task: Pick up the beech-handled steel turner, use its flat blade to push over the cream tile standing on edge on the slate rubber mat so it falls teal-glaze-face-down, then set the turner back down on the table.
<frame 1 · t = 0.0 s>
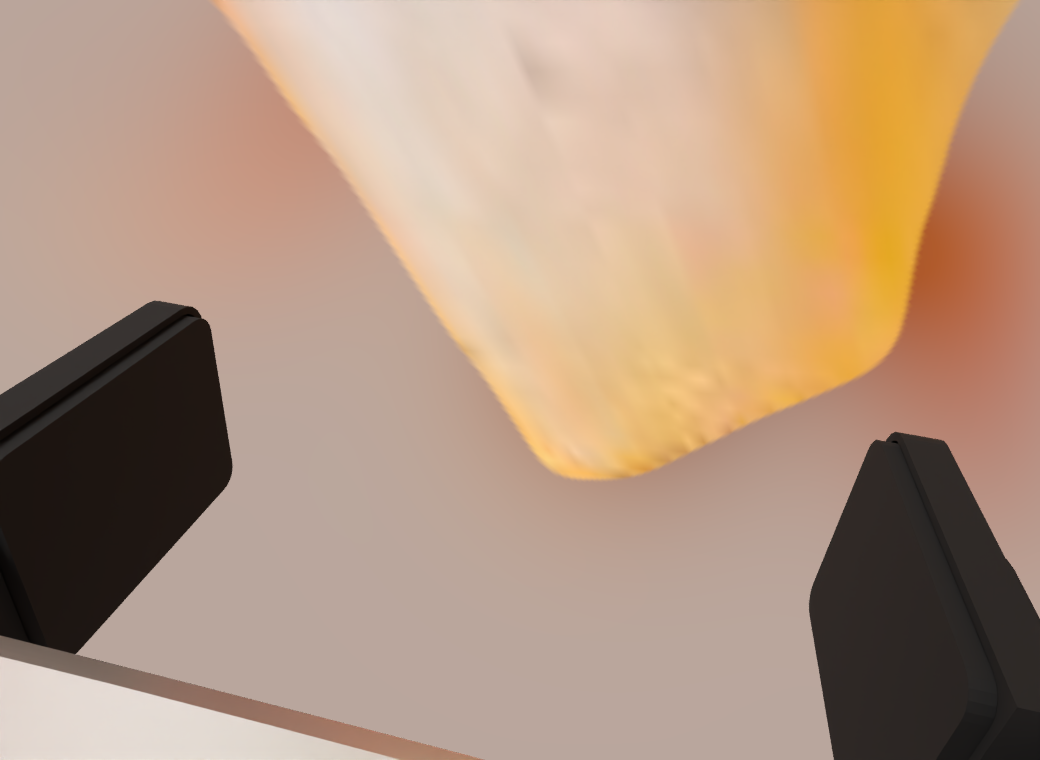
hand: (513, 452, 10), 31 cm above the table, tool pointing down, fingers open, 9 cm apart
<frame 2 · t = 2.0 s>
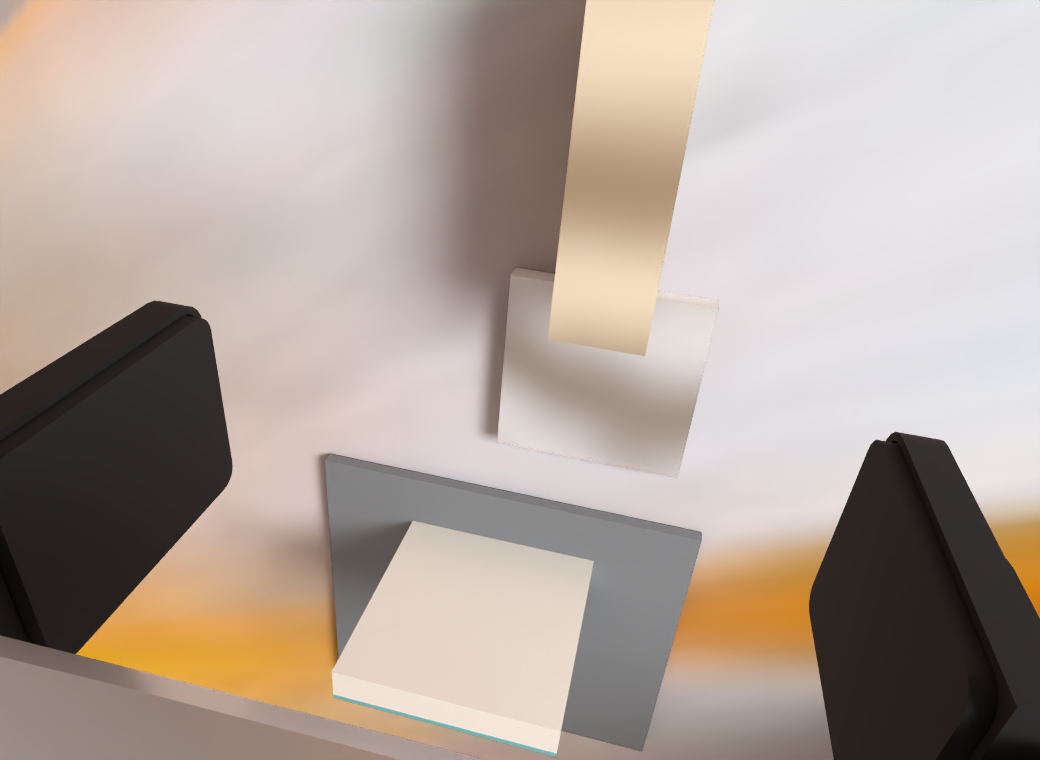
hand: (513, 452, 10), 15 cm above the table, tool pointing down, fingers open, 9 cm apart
mat: (497, 608, 34), on the table
turner: (629, 193, 23), on the table
tile: (500, 552, 31), resting on mat
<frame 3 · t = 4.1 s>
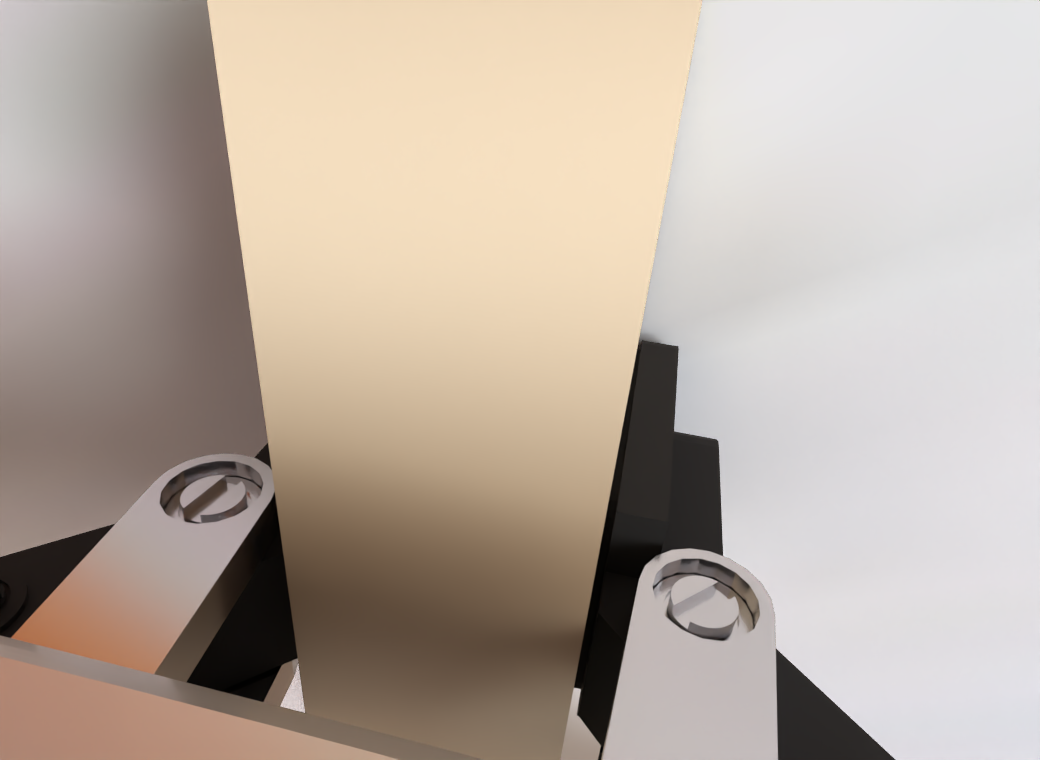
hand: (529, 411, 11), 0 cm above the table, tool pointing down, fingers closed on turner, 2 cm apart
turner: (532, 401, 11), on the table, touching gripper
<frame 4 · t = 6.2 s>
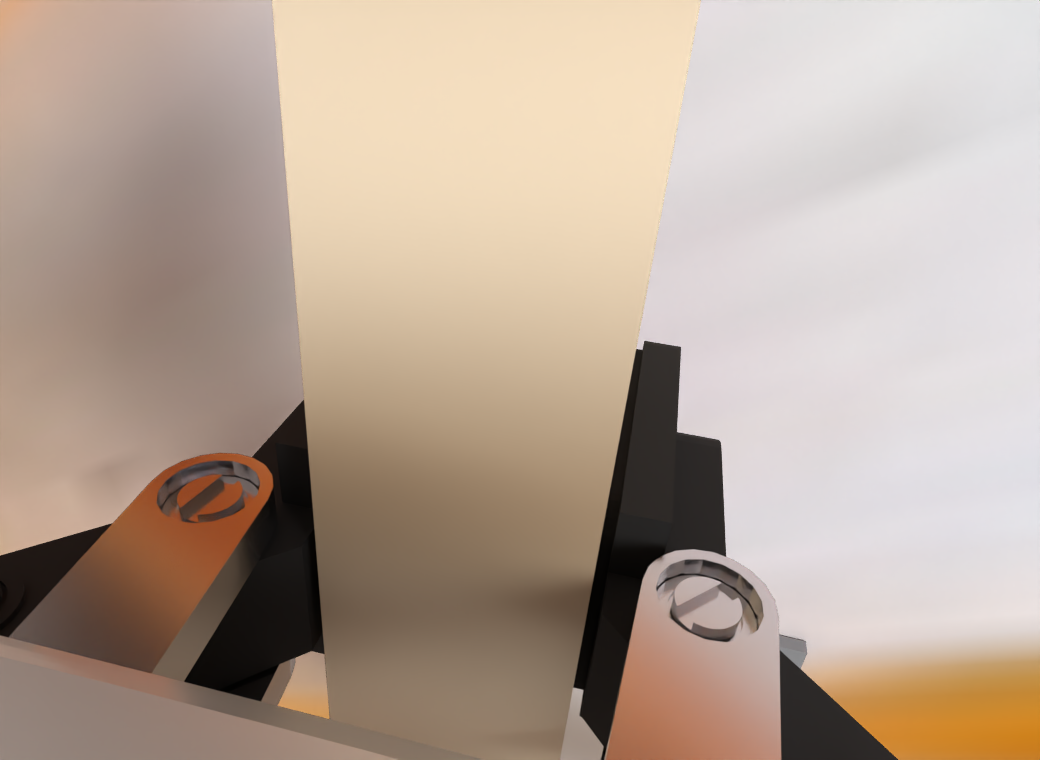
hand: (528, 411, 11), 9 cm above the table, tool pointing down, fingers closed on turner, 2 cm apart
mat: (548, 711, 29), on the table
turner: (538, 380, 12), point 8 cm above the table, touching gripper
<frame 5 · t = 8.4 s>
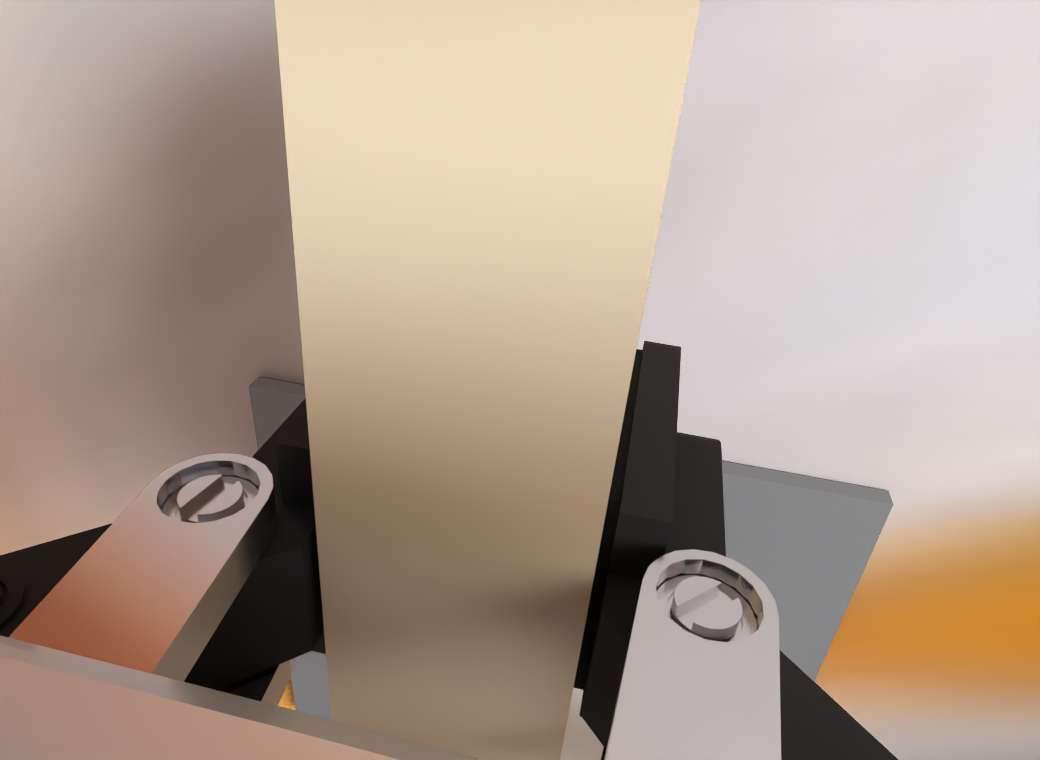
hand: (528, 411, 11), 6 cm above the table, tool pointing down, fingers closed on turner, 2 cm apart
mat: (531, 620, 22), on the table
turner: (538, 379, 12), point 5 cm above the table, touching gripper
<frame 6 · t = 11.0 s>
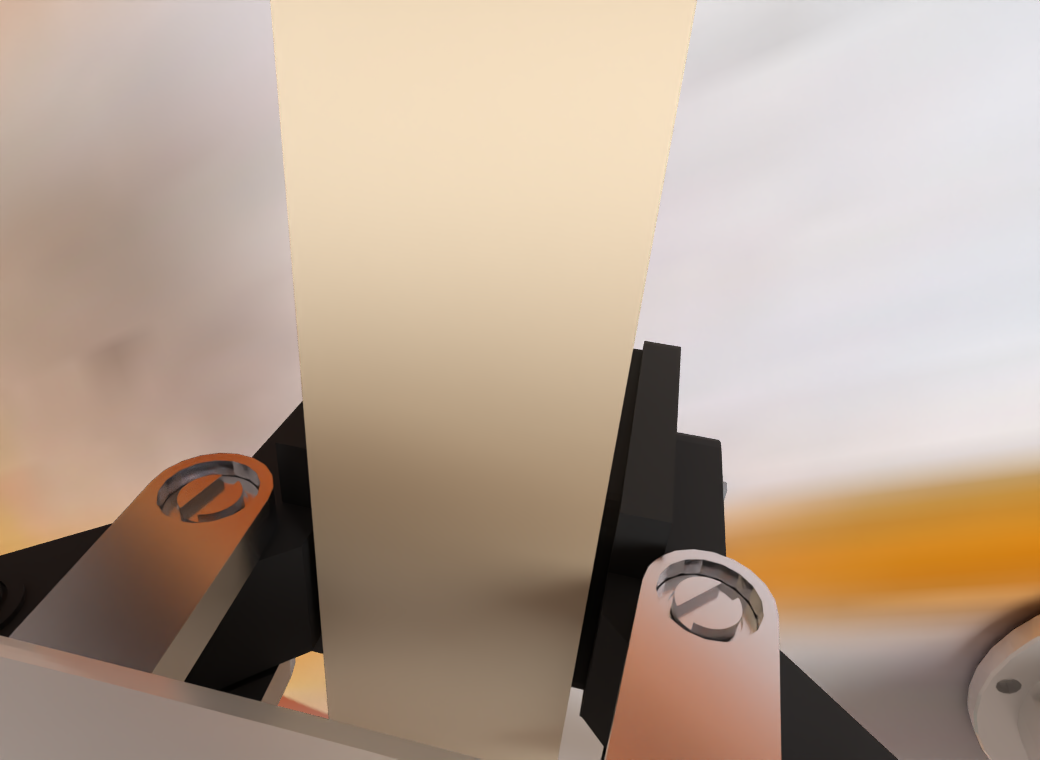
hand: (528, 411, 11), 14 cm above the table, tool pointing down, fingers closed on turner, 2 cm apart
turner: (537, 379, 12), point 13 cm above the table, touching gripper
when the fingers open (2 cm above the table, at t = 13.6 s): turner drops 1 cm, on the table.
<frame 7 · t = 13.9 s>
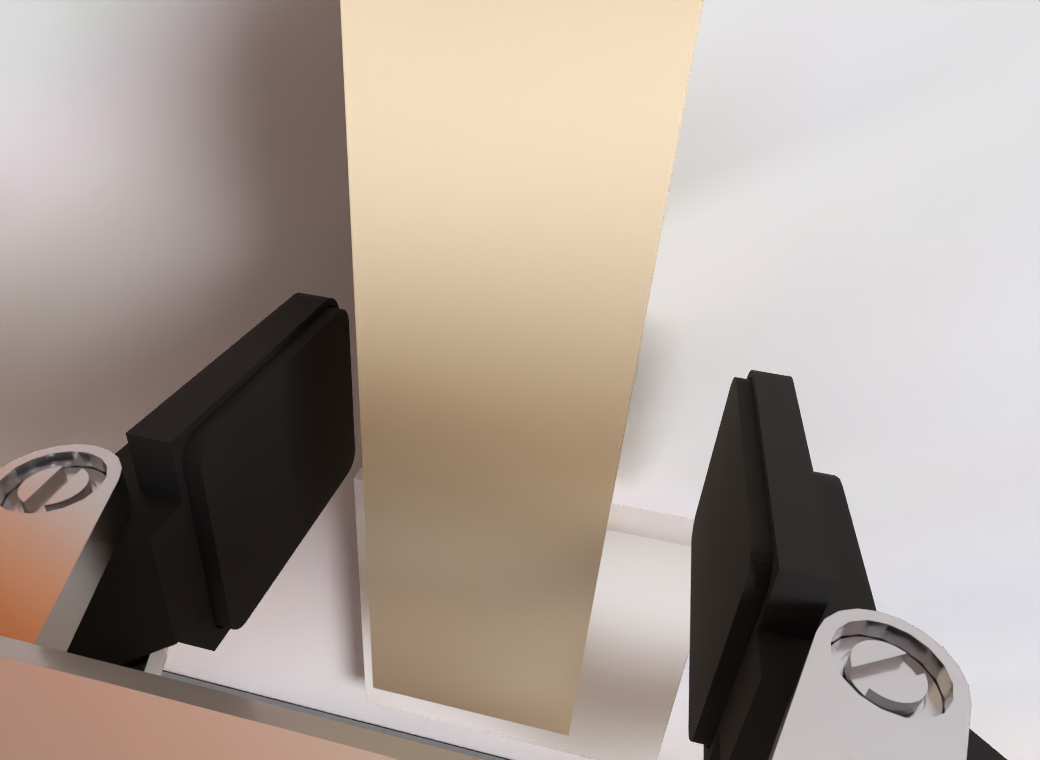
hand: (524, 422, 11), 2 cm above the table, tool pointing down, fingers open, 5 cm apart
turner: (552, 349, 13), on the table
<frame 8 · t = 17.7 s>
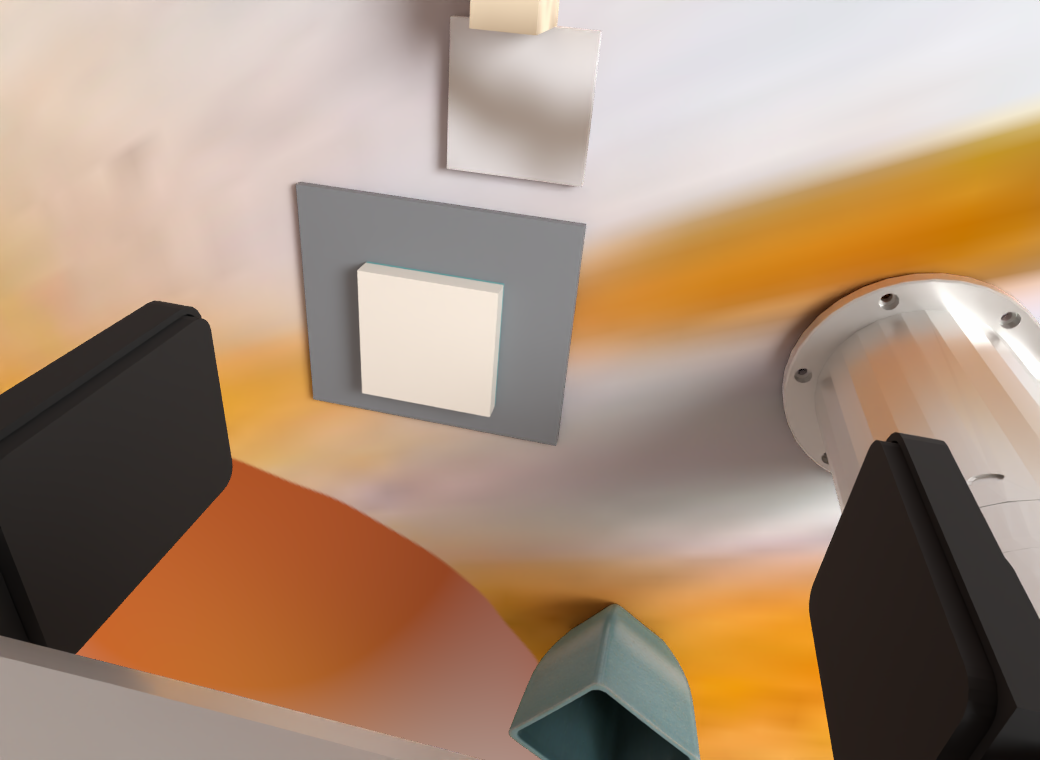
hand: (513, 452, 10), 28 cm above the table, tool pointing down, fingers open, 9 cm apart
mat: (436, 319, 42), on the table
tile: (430, 277, 40), point 1 cm above the table, tilted 90°, touching mat
flower pot: (615, 632, 52), on the table
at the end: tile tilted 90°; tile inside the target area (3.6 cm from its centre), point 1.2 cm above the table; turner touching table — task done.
